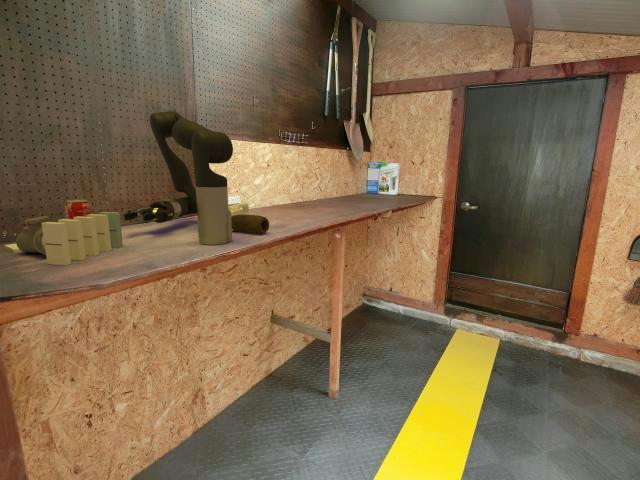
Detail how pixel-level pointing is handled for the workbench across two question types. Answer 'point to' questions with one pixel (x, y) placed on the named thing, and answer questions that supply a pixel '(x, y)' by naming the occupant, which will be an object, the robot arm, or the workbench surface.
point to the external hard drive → (12, 248)
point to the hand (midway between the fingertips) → (134, 217)
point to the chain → (237, 211)
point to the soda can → (77, 208)
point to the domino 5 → (114, 229)
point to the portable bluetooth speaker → (250, 224)
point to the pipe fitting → (32, 236)
